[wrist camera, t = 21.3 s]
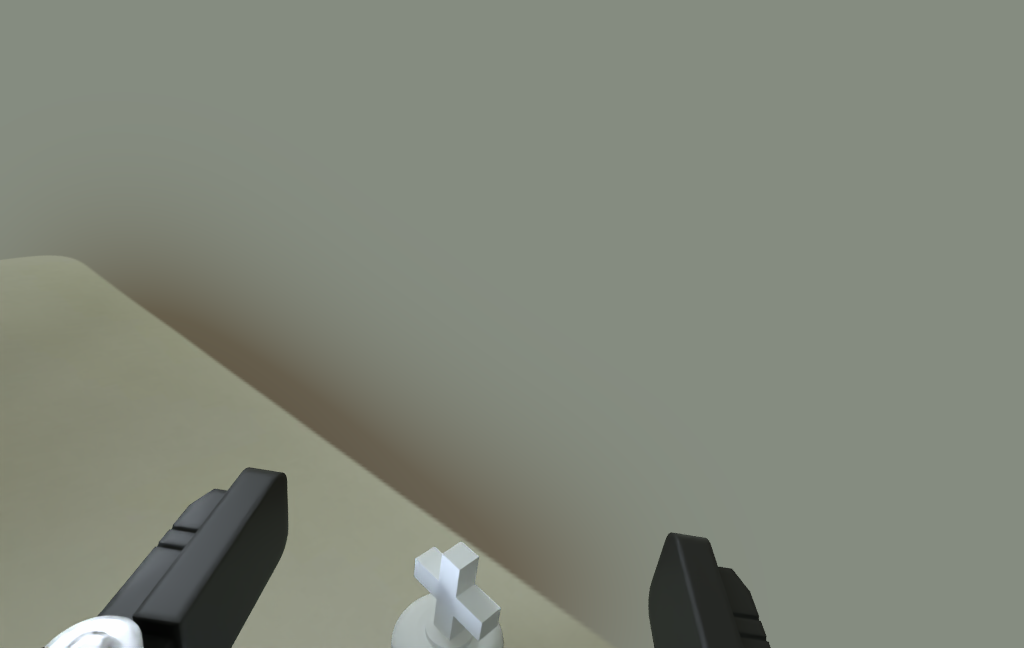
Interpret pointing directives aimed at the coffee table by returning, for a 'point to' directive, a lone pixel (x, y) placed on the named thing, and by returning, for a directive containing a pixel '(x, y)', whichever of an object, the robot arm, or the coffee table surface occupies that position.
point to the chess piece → (449, 605)
